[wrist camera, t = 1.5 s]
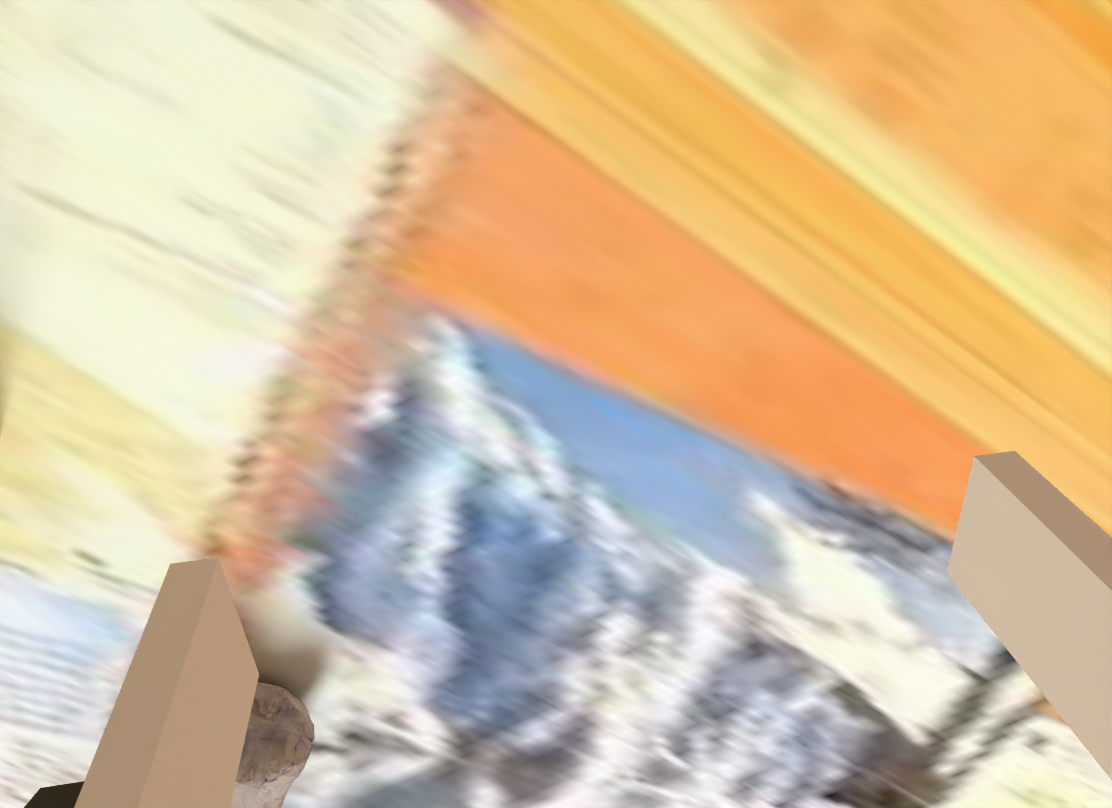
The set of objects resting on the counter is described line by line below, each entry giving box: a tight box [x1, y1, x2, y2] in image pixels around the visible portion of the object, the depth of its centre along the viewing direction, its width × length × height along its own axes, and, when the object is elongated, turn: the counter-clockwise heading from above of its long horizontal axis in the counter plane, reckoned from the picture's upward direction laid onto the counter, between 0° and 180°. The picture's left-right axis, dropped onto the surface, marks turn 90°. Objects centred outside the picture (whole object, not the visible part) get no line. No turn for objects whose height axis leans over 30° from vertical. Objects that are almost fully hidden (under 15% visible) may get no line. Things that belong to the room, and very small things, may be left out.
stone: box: [230, 682, 314, 808], centre depth 43 cm, size 8×12×7 cm, turn 151°
